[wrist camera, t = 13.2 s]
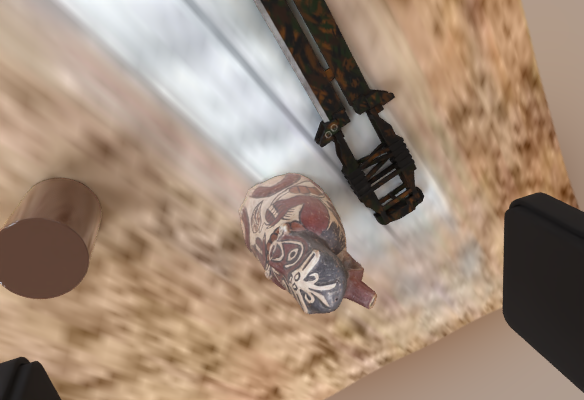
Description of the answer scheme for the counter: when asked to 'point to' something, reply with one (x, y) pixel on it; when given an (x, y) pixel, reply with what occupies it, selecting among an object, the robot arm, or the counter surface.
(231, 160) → the counter surface
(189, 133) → the counter surface
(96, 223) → the glossy brown cylinder
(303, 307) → the figurine
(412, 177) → the dark flat slotted piece
